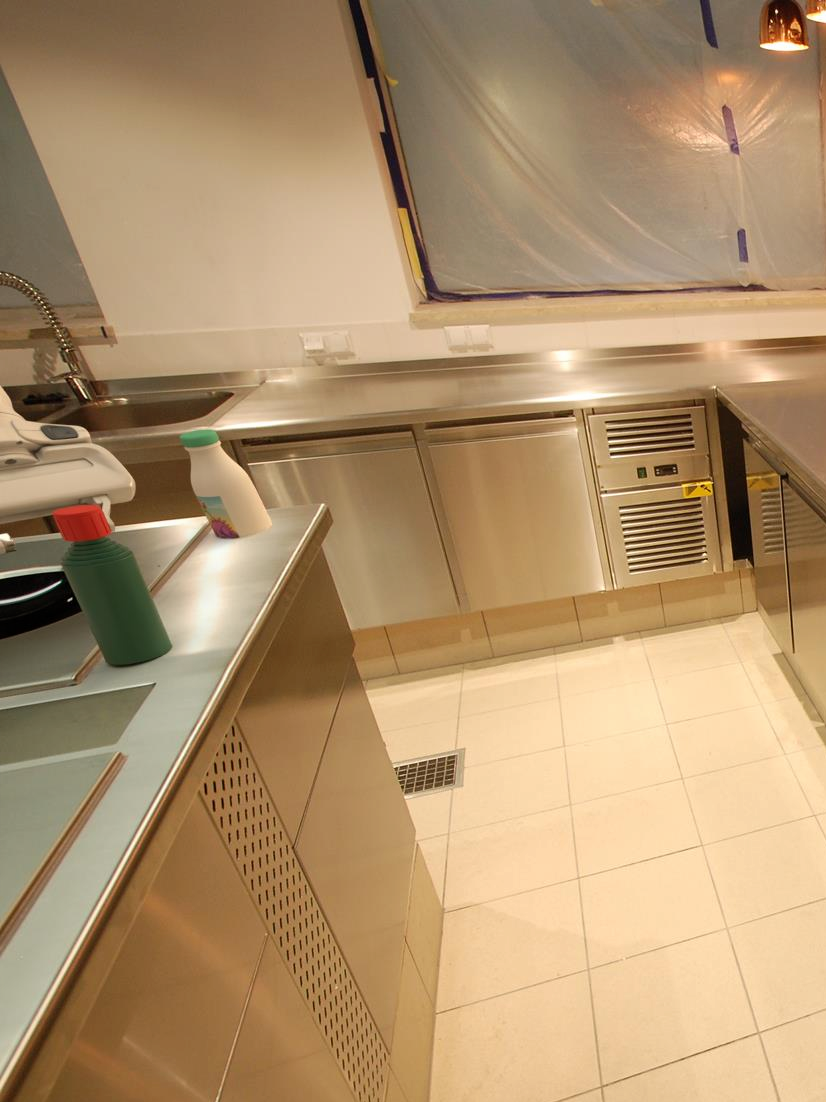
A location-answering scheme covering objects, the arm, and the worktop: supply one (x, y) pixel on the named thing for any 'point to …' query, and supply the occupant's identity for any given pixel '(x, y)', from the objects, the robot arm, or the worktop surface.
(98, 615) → the bottle
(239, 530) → the milk bottle
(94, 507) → the cap
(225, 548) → the worktop surface
